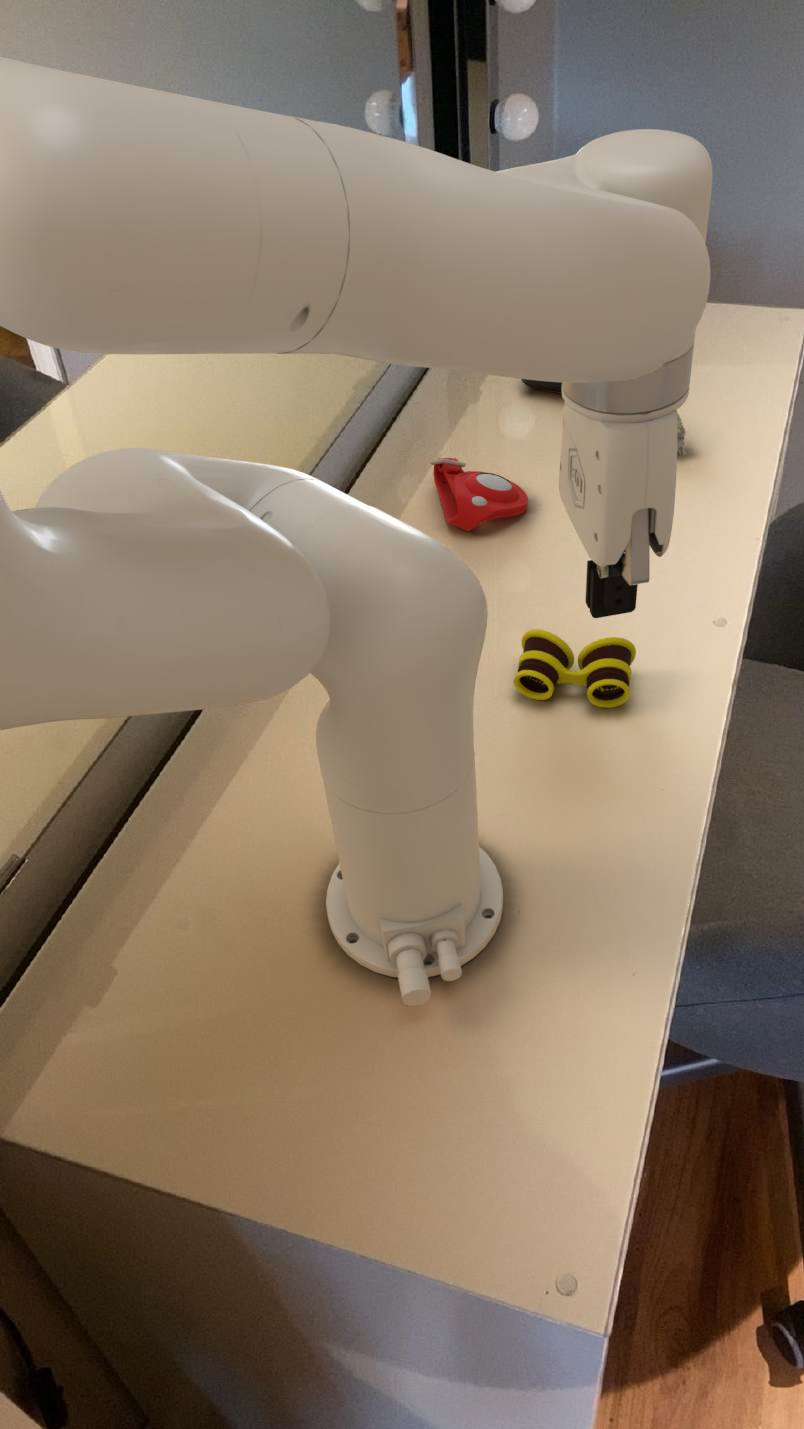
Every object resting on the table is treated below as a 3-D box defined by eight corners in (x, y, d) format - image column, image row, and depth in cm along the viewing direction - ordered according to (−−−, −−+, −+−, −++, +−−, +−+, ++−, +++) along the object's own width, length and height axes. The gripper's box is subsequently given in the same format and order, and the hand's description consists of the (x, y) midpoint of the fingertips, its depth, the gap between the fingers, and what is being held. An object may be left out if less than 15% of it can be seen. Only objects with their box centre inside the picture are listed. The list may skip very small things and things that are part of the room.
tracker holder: (543, 481, 111) (513, 512, 103) (530, 518, 113) (500, 551, 105) (440, 439, 113) (403, 467, 105) (430, 477, 116) (393, 506, 108)
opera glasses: (513, 704, 90) (510, 670, 86) (523, 656, 93) (521, 620, 89) (627, 718, 88) (630, 683, 84) (634, 668, 91) (638, 631, 86)
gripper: (533, 325, 67) (533, 556, 80) (601, 443, 57) (588, 687, 70) (646, 307, 68) (628, 540, 81) (735, 420, 57) (698, 668, 70)
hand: (610, 607), depth 75 cm, fingers closed
